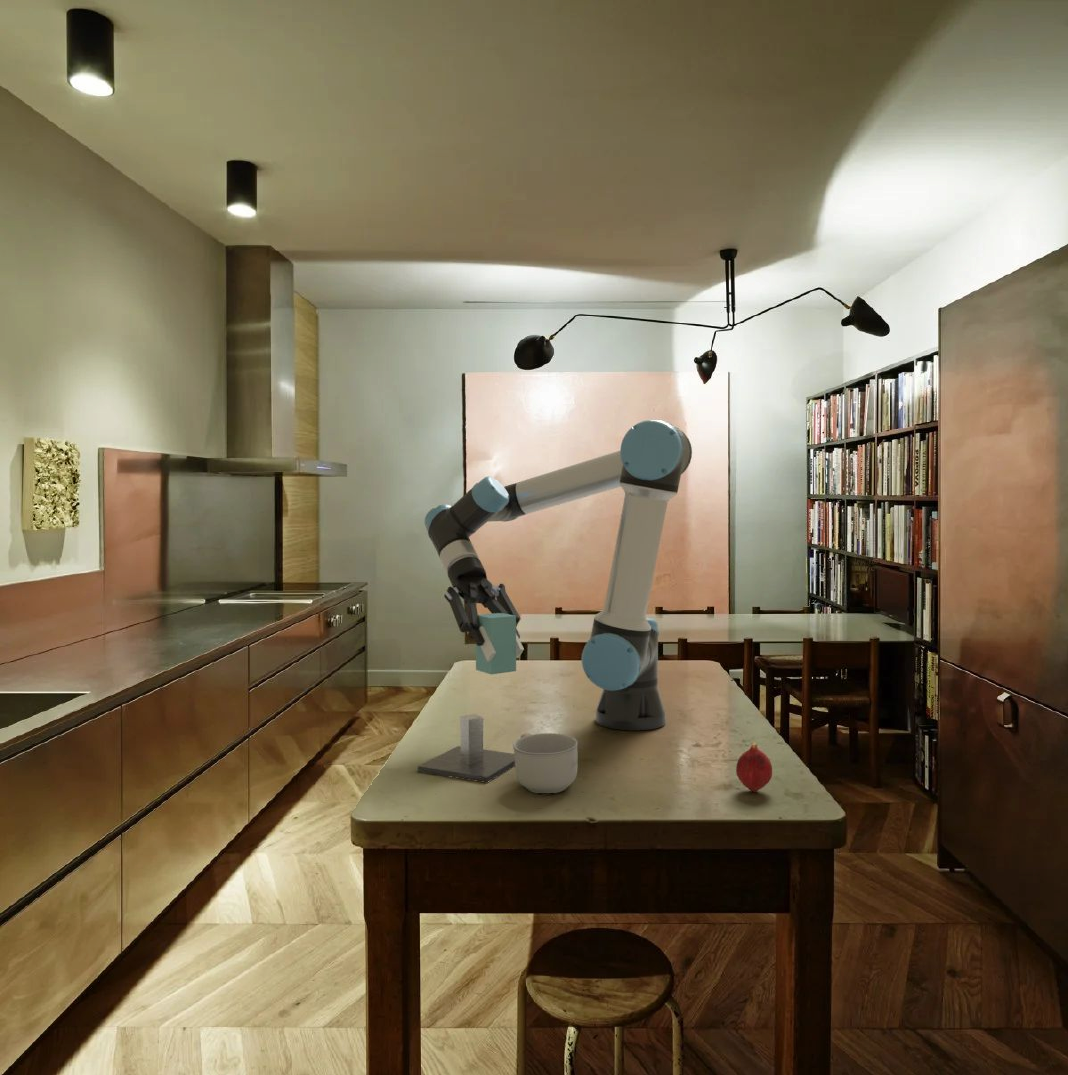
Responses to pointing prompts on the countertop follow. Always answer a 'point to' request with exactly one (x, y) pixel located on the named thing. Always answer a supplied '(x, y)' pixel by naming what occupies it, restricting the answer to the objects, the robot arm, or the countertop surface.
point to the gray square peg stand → (470, 756)
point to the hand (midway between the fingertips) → (505, 655)
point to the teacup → (546, 761)
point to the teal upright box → (498, 643)
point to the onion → (754, 769)
